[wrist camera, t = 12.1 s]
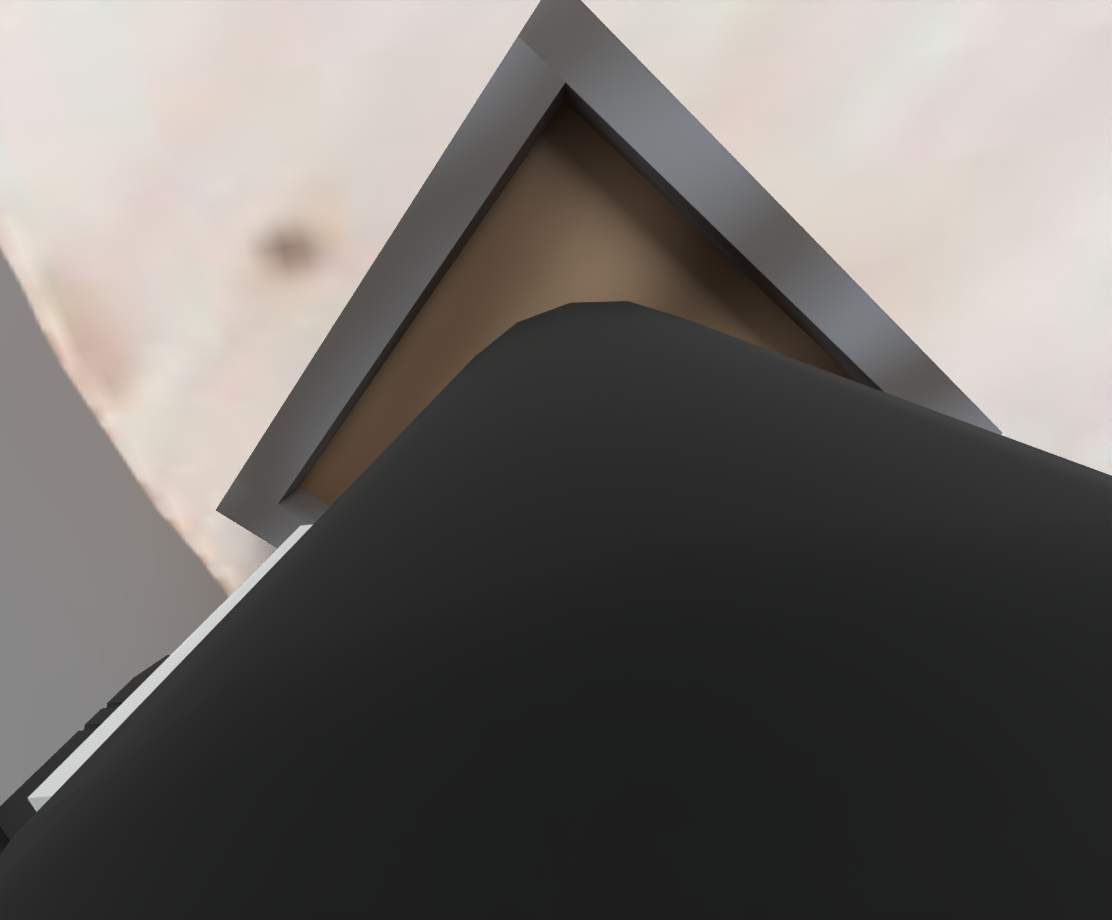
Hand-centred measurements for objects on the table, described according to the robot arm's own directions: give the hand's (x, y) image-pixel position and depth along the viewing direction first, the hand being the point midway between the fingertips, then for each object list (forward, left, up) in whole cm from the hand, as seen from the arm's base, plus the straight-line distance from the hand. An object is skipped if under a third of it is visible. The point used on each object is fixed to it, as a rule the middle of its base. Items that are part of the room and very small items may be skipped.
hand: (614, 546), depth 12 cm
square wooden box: (0, 0, -12) cm, 12 cm away
